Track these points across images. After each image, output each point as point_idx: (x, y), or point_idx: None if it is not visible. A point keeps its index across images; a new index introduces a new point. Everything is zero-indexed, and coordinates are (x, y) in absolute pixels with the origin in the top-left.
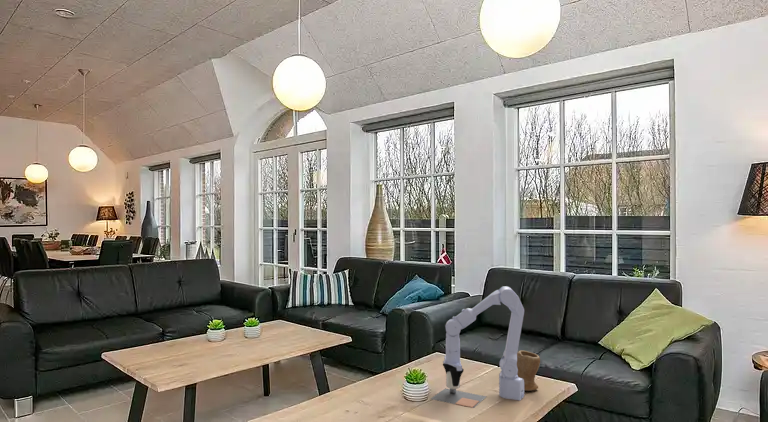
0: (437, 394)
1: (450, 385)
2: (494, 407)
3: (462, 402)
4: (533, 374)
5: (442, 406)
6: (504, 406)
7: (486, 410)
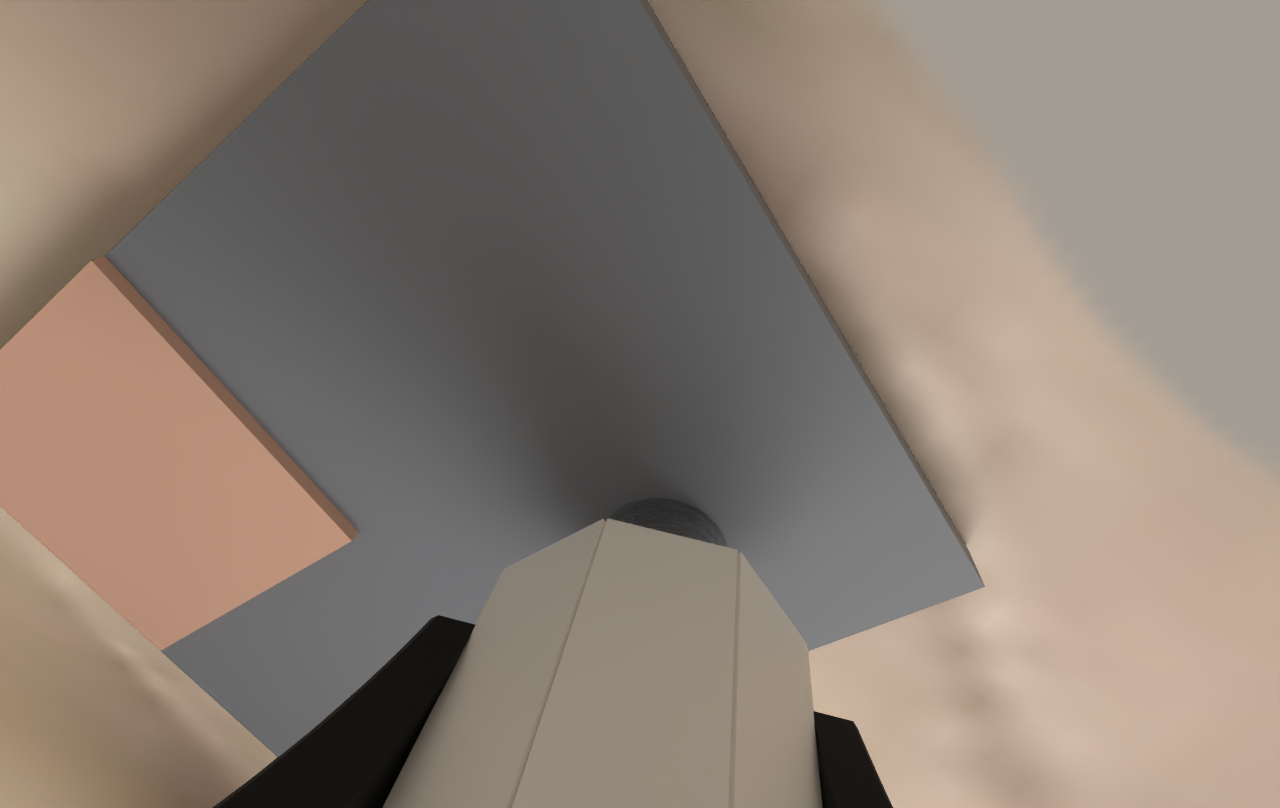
0: (745, 225)
1: (535, 594)
2: (104, 691)
3: (123, 408)
4: None
5: (233, 16)
6: (126, 779)
7: (11, 566)
